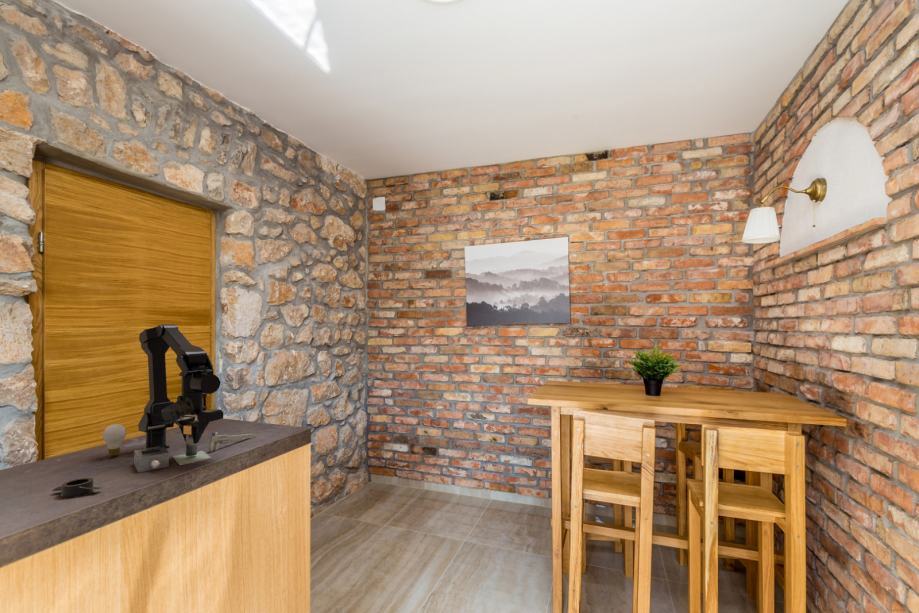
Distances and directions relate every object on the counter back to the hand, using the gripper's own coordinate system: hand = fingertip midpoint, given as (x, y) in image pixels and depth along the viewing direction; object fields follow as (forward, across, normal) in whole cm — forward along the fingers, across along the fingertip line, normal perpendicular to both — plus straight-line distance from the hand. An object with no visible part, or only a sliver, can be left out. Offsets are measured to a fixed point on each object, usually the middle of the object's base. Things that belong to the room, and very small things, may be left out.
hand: (191, 442), depth 129 cm
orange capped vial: (+4, 0, 0) cm, 4 cm away
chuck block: (+5, -4, -9) cm, 11 cm away
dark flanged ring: (+5, -3, -28) cm, 29 cm away
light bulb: (+5, -26, -5) cm, 27 cm away
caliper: (+5, 0, +16) cm, 17 cm away
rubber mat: (+5, 0, 0) cm, 5 cm away
